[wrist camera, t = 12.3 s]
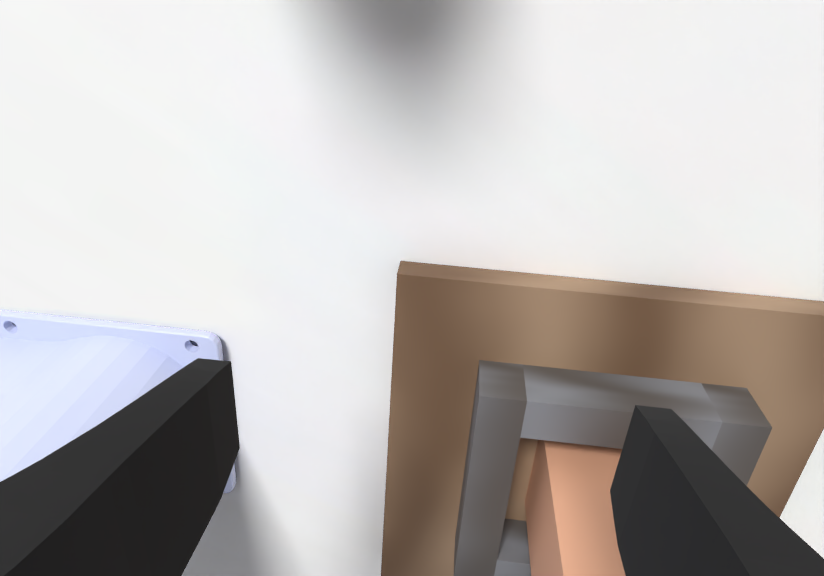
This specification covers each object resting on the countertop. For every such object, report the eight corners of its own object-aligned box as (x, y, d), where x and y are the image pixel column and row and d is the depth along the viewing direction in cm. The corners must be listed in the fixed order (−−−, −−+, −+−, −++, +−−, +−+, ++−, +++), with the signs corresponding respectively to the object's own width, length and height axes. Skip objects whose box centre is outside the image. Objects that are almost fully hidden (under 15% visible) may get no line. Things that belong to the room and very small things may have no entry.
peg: (524, 501, 24) (544, 727, 17) (541, 422, 22) (572, 639, 15) (627, 514, 23) (692, 748, 16) (653, 435, 21) (740, 662, 14)
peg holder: (383, 556, 27) (373, 619, 25) (400, 260, 20) (389, 304, 18) (720, 599, 27) (746, 668, 24) (859, 304, 19) (919, 357, 17)
